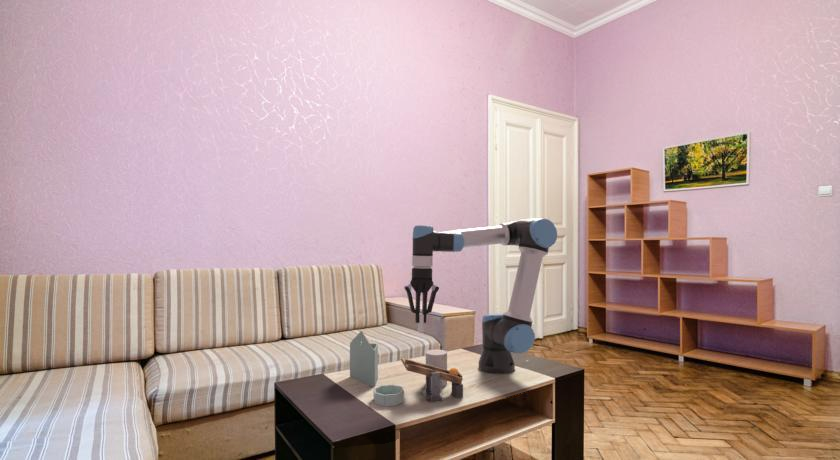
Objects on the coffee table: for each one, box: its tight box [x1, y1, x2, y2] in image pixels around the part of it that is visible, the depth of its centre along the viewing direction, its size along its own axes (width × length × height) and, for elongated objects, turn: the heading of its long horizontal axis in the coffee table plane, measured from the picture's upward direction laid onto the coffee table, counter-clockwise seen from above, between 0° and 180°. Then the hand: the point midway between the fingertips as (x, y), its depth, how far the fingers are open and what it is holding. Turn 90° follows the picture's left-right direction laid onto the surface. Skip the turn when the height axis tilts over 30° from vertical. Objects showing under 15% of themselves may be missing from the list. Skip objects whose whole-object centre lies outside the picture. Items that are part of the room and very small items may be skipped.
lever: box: [400, 357, 464, 384], centre depth 158 cm, size 20×13×3 cm
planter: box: [349, 330, 379, 388], centre depth 173 cm, size 16×8×20 cm, turn 41°
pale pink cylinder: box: [425, 349, 448, 388], centre depth 168 cm, size 8×8×12 cm
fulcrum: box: [422, 365, 444, 404], centre depth 155 cm, size 5×10×10 cm, turn 12°
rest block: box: [451, 382, 464, 399], centre depth 157 cm, size 2×6×4 cm, turn 12°
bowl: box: [373, 384, 405, 407], centre depth 152 cm, size 10×10×4 cm
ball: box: [448, 367, 460, 376], centre depth 156 cm, size 4×4×4 cm
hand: (420, 331), depth 162 cm, fingers closed
